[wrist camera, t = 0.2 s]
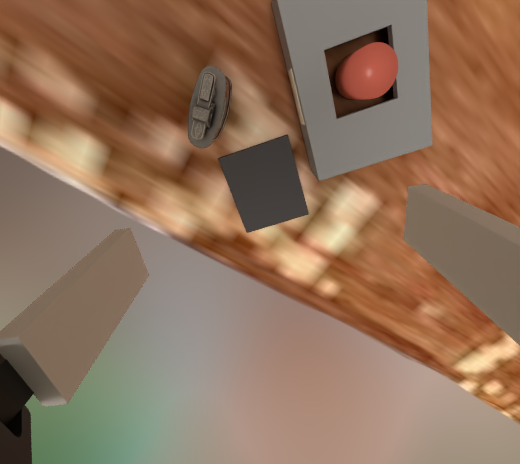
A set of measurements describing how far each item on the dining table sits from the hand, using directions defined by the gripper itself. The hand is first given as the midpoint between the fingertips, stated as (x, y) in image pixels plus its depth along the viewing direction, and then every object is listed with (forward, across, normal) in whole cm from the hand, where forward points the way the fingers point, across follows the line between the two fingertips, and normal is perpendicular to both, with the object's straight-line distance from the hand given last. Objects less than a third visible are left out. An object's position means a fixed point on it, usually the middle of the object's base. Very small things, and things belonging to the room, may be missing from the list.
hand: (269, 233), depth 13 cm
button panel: (+27, +12, +7) cm, 30 cm away
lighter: (+27, -5, +6) cm, 28 cm away
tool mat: (+27, 0, -5) cm, 27 cm away
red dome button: (+24, +12, +7) cm, 27 cm away
